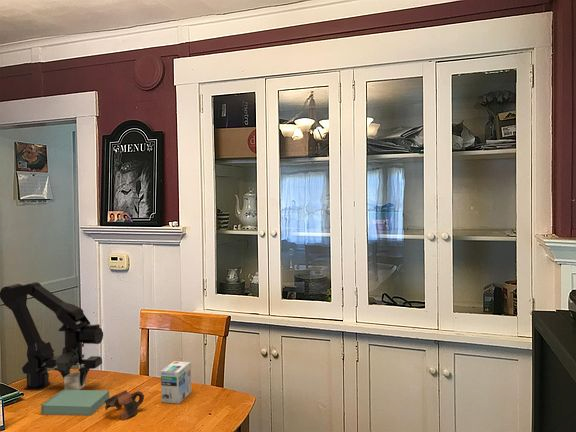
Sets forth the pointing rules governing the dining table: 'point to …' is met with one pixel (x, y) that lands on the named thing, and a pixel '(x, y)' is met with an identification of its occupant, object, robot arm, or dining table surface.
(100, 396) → the green book
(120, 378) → the dining table surface
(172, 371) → the light bulb box
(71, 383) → the wooden cube
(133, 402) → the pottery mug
